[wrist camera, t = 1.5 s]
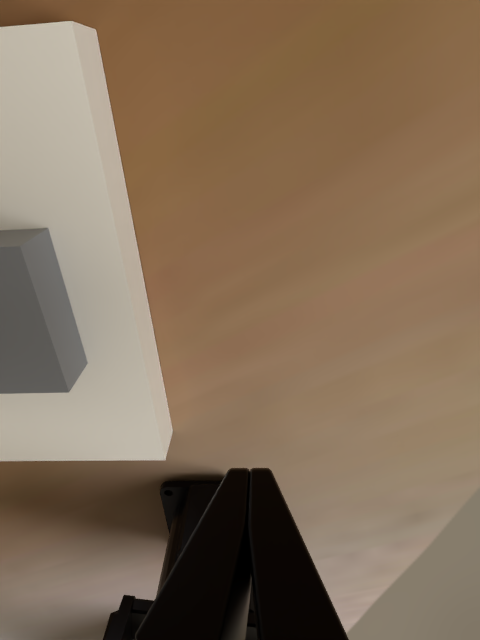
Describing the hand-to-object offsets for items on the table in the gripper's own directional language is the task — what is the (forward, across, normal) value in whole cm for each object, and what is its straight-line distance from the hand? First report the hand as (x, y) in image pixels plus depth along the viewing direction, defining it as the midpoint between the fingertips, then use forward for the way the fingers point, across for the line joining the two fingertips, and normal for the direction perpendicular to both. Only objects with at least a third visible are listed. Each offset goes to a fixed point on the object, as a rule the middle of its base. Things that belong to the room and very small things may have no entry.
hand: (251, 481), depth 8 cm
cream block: (+11, +11, 0) cm, 15 cm away
